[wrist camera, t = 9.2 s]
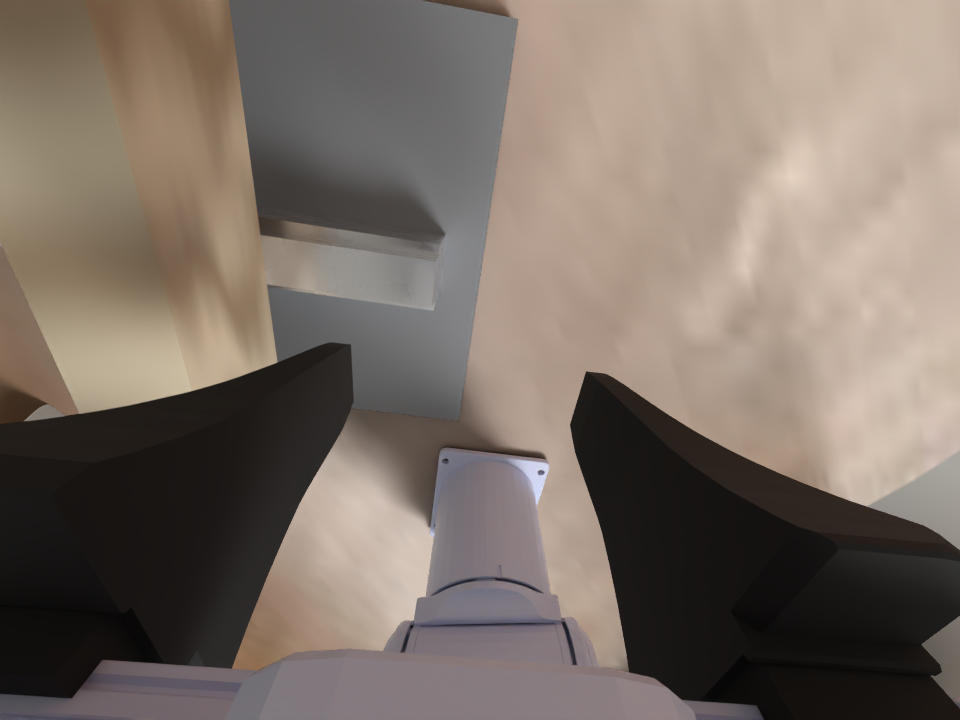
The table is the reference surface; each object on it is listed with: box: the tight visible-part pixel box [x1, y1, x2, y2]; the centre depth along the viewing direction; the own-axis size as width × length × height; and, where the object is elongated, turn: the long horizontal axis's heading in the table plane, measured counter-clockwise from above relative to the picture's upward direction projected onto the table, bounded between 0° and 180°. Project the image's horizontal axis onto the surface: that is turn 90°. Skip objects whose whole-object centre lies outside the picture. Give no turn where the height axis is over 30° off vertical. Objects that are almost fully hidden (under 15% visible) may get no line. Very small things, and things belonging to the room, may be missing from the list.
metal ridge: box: [0, 205, 446, 311], centre depth 16 cm, size 3×18×4 cm, turn 82°
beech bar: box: [0, 0, 277, 414], centre depth 12 cm, size 16×4×5 cm, turn 172°
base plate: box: [229, 0, 518, 421], centre depth 18 cm, size 20×22×1 cm
